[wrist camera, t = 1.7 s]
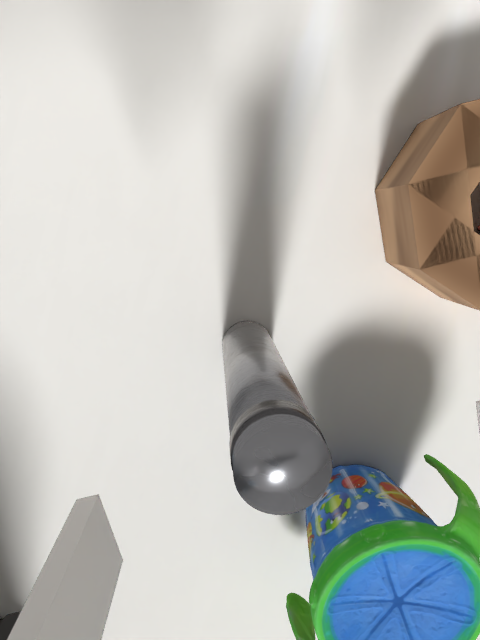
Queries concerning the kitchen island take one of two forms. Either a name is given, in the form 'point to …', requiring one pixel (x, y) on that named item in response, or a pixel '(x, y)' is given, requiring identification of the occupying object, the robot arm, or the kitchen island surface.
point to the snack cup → (388, 563)
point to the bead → (436, 205)
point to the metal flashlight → (270, 427)
